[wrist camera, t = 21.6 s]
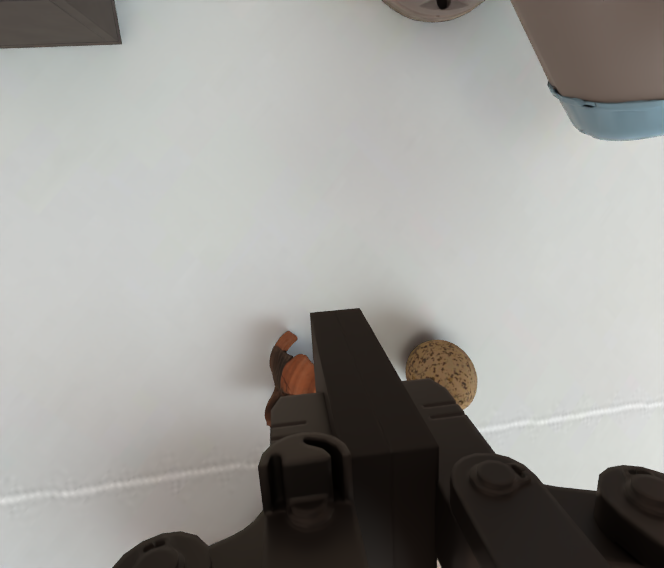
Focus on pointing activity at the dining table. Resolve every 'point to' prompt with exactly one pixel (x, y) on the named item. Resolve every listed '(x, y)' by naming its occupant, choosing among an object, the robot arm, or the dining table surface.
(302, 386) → the brown curved piece
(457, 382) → the decorative egg
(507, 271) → the dining table surface
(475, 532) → the robot arm
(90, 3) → the dark grey box
